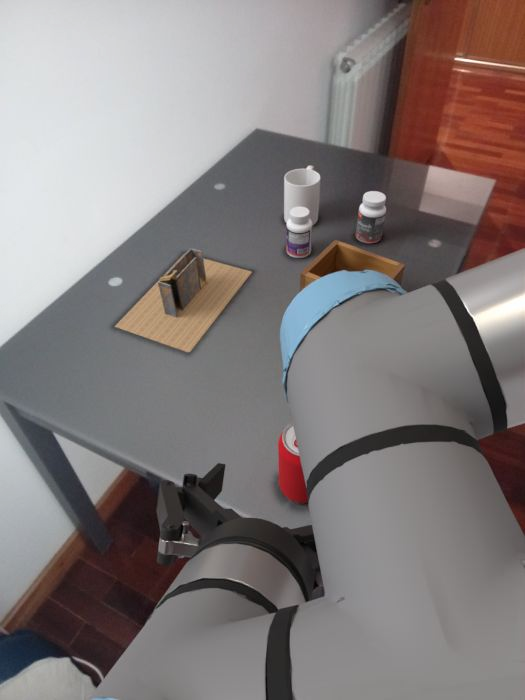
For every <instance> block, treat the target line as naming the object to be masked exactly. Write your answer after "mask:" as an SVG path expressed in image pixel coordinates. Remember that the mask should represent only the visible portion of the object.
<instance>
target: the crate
mask: <svg viewBox="0 0 525 700" xmlns="http://www.w3.org/2000/svg"><path fill="white" fill-rule="evenodd" d="M405 268H406V265H405V264H404V263H401V262H398V261H395V260H393V259H391V258H388V257H386V256H382V255H379V254H377V253H374V252H371V251H368V250H365V249H362V248H360V247H357V246H354V245H352V244H348V243H347V242H343V241H341V240H337V239H334V240H333V241H332V242H331V243H330V244H329V245H328V246H327V247H326V248H324V250H323V251H322V252H320V253H319V254H318V256H316V257H315V259H313V260H312V262H310V263H309V264H308V265H307V266H306V267H304V269H303V270H302V271H301V272H300V274H299V275H300V277H299V280H300V281H299V293H300V292H301V291H302V290H303V289H304V288H305V287H307V286H308V285H309V284H311V283H312V282H314V281H315V280H317V279H319V278H321V277H323V276H326V275H328V274H331V273H335V272H338V271H342V270H346V271H348V272H354V271H365V270H373V271H377V272H380V273H382V274H385V275H387V276H389V277H390V278H392V279H393V280H394V281H396V282H397V283H398V284H399V285H400V286H402V281H403V276H404V271H405Z"/></svg>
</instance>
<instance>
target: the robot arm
mask: <svg viewBox="0 0 525 700" xmlns="http://www.w3.org/2000/svg"><path fill="white" fill-rule="evenodd" d="M279 343H280V350H281V351H280V353H281V360H282V369H283V375H282V380H281V381H282V385H283V389H284V398H285V401H286V403H287V404H288V408H289V413H290V418H291V422H292V423H293V427H294V432H295V437H296V441H297V446H298V451H299V456H300V460H301V465H302V470H303V474H304V479H305V484H306V492H307V498H308V502H307V505H308V511H309V517H310V522H311V524H308V525H303V526H300V527H295V528H289V527H288V526H284V527H282V526H280V525H278V524H277V523H275V522H273V521H270V520H267V519H264V518H260V517H242V516H241V515H240V514H239V513H237V512H236V511H235V510H234V509H233V508H223V507H222V506H221V505H220V503H218V502H217V501H216V499H217V497H218V496H220V494H222V492H223V486H224V479H225V471H226V464H225V463H222V462H217V463H216V465H214V466H213V467H212V468H211V469H210V470H209V471H208V472H207V473H206V474H205V475H204V476H203V477H200V476H198V475H197V474H195V473H184V474H183V479H182V486H176V484H175V482H174V481H171V480H169V479H163V480H160V482H159V488H158V494H157V495H158V496H157V504H156V515H157V521H158V526H159V533H160V534H159V542H158V549H157V556H156V563H157V564H159V565H160V566H165V567H167V566H172V565H174V564H175V563H176V560H177V559H184V558H189V559H188V561H187V562H186V563H185V564H184V565H183V567H182V569H181V570H180V572H179V573H178V574H177V576H176V577H175V579H174V580H173V581H172V583H171V584H170V586H169V587H168V589H167V590H166V591H165V593H164V594H163V596H162V597H161V599H160V600H159V602H158V603H157V604H156V606H155V607H154V608H153V611H152V612H151V613H150V614H149V616H148V617H147V619H146V621H145V624H144V625H143V627H142V628H141V629H140V630H139V632H138V633H137V635H136V636H135V637H134V639H132V641H131V643H129V645H128V647H127V648H126V649H125V651H124V652H123V653H122V654H121V656H120V657H119V658H118V660H116V662H115V663H114V665H113V666H112V667H111V669H110V670H109V671H108V673H107V674H106V675H105V677H104V678H103V679H102V681H101V682H100V683H99V684H98V686H97V687H96V688H95V690H94V691H93V692H92V693H91V695H90V696H89V698H88V699H87V700H525V533H524V532H523V530H522V528H521V526H520V524H519V522H518V520H517V518H516V517H515V515H514V513H513V511H512V509H511V507H510V504H509V503H508V501H507V499H506V497H505V495H504V493H503V491H502V488H501V486H500V484H499V482H498V480H497V478H496V476H495V474H494V472H493V470H492V468H491V465H490V464H489V462H488V460H487V457H486V455H485V453H484V451H483V449H482V447H481V444H480V443H479V441H478V440H482V439H485V438H486V437H489V436H491V435H495V434H498V433H502V432H505V431H507V430H508V429H511V428H513V427H517V426H520V425H524V424H525V247H523V248H521V249H518V250H515V251H513V252H511V253H508V254H505V255H503V256H501V257H497V258H495V259H493V260H490V261H488V262H487V261H486V262H484V263H482V264H480V265H477V266H475V267H472V268H469V269H467V270H464V271H461V272H459V273H456V274H454V275H451V276H449V277H446V278H444V279H442V280H439V281H436V282H434V283H431V284H428V285H425V286H423V287H422V286H421V287H420V288H418V289H414V290H412V291H409V292H408V291H407V290H405V289H403V287H402V285H399V284H398V283H397V282H396V281H394V280H393V279H392V278H390V277H389V276H387V275H385V274H382V273H380V272H377V271H373V270H365V271H354V272H348V271H346V270H342V271H338V272H335V273H331V274H328V275H326V276H323V277H321V278H319V279H317V280H315V281H314V282H312V283H311V284H309V285H308V286H307V287H305V288H304V289H303V290H302V291H301V292H300V291H299V292H298V293H297V294H296V295H295V296H294V298H293V299H292V300H291V302H290V303H289V304H288V306H287V308H286V310H285V311H284V313H283V317H282V320H281V322H280V329H279ZM190 526H191V527H192V528H193V529H194V530H195V531H196V533H197V534H198V535H199V537H195V536H194V535H193V532H192V531H191V530H190ZM321 587H323V590H324V596H321V597H318V598H315V599H313V594H314V593H316V592H317V591H318V590H319V589H320V588H321Z"/></svg>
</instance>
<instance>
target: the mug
mask: <svg viewBox="0 0 525 700" xmlns="http://www.w3.org/2000/svg"><path fill="white" fill-rule="evenodd" d="M283 184H284V185H283V193H284V194H283V219H284V222H285V223H286V224H287V221H288V219H290V210H291V209H292V208H294V207H305V208H307V209H309V211H310V217H309V218H310V219H311V221H312V227H313V226H314V225H316V224H317V222H318V220H319V210H320V209H319V208H320V193H321V175H320V173H319V172H318V171H316V170H315V167H314V165H307V167H306V168H295V169H291V170H289V171H287V172H286V173H285V174H284V177H283Z"/></svg>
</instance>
